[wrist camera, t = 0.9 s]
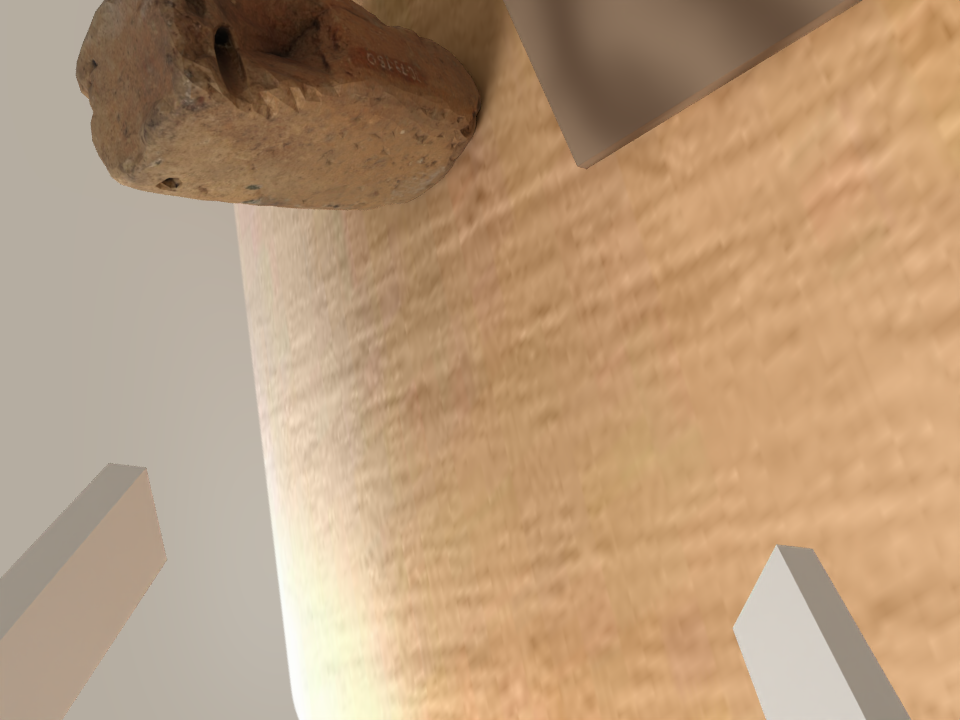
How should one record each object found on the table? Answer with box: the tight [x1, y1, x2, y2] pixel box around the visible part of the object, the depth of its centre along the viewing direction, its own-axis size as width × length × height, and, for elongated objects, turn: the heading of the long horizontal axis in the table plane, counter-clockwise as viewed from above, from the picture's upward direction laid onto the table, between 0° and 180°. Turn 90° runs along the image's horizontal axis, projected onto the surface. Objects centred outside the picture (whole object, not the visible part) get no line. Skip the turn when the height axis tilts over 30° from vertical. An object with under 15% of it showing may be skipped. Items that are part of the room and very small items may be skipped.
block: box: [76, 0, 481, 210], centre depth 31 cm, size 11×8×20 cm
